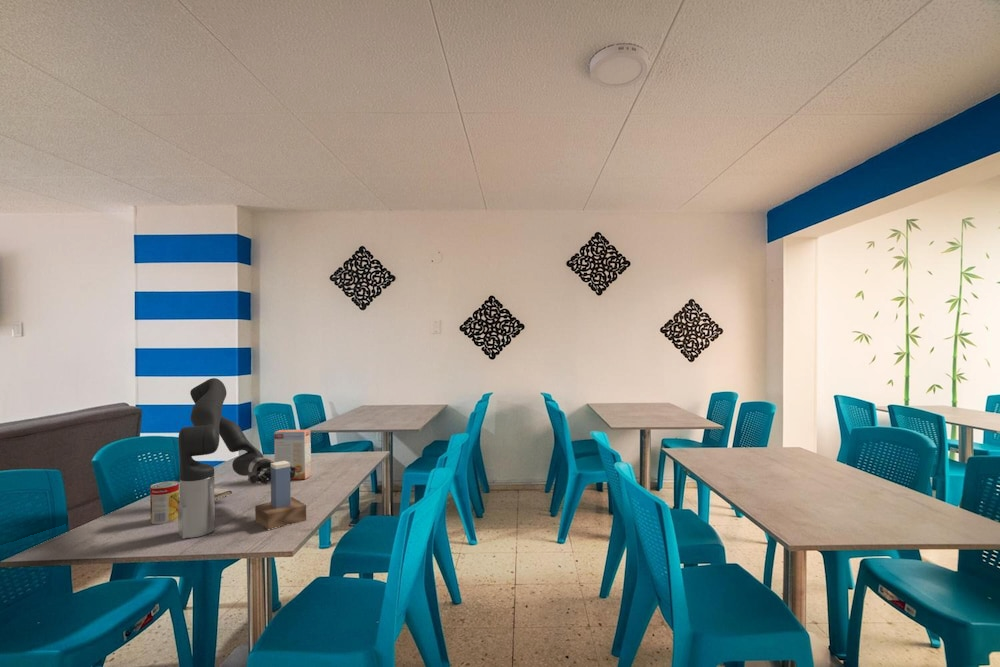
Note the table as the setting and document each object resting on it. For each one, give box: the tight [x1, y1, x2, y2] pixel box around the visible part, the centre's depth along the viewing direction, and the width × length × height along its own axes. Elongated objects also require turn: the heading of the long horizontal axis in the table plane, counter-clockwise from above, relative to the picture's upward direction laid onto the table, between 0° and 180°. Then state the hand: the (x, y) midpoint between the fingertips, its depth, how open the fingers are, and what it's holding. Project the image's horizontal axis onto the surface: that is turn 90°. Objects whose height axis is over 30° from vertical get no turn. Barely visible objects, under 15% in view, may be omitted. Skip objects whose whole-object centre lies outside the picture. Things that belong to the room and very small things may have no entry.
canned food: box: [149, 480, 180, 525], centre depth 162 cm, size 8×8×12 cm
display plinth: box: [254, 496, 307, 530], centre depth 159 cm, size 12×12×5 cm
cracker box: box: [273, 429, 312, 480], centre depth 210 cm, size 14×6×21 cm, turn 84°
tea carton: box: [270, 461, 291, 509], centre depth 159 cm, size 5×5×14 cm
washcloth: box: [179, 487, 233, 503], centre depth 182 cm, size 12×18×3 cm, turn 158°
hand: (279, 477), depth 160 cm, fingers open, 8 cm apart
